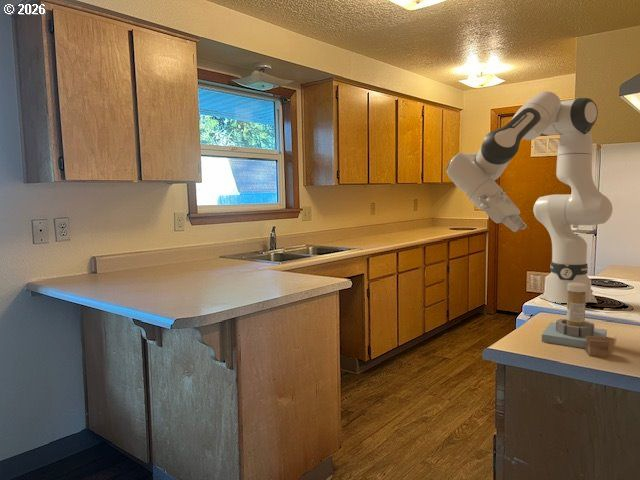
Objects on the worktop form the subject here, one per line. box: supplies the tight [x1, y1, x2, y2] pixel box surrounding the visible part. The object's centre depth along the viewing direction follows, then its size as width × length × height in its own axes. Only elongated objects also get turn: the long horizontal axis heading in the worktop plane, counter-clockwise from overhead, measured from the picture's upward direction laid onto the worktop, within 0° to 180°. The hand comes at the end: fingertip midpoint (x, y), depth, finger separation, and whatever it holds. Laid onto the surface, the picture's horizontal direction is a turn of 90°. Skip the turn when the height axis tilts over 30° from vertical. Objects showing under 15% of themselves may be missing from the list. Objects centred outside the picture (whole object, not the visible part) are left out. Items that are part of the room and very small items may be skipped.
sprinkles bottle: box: [565, 283, 587, 327], centre depth 126 cm, size 5×5×14 cm
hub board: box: [541, 318, 608, 349], centre depth 127 cm, size 14×14×4 cm
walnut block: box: [584, 336, 610, 358], centre depth 116 cm, size 4×4×4 cm
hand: (521, 229), depth 136 cm, fingers open, 8 cm apart
